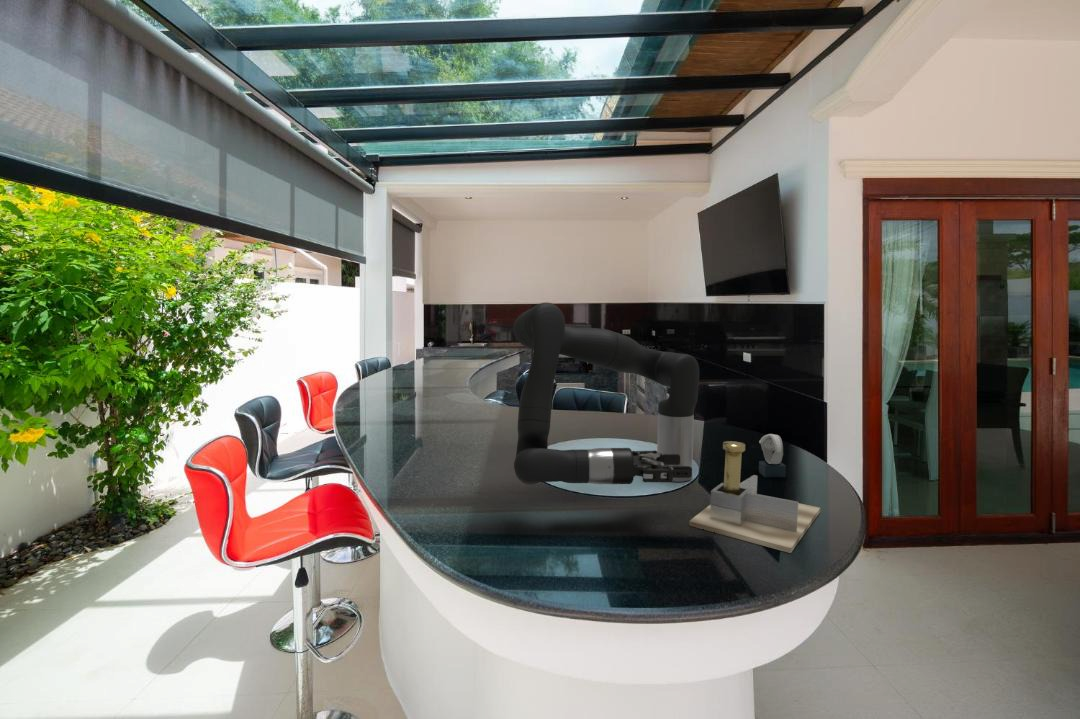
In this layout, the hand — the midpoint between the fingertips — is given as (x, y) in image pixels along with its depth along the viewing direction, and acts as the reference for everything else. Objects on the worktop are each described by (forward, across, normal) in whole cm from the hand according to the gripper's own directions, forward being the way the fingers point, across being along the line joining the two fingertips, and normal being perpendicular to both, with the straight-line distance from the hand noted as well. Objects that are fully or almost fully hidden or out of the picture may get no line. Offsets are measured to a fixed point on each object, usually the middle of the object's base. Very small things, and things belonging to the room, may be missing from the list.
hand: (685, 465), depth 114 cm
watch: (+33, +30, +13) cm, 47 cm away
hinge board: (+16, +1, +12) cm, 21 cm away
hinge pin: (+10, 0, +11) cm, 15 cm away
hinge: (+17, +1, +11) cm, 20 cm away
